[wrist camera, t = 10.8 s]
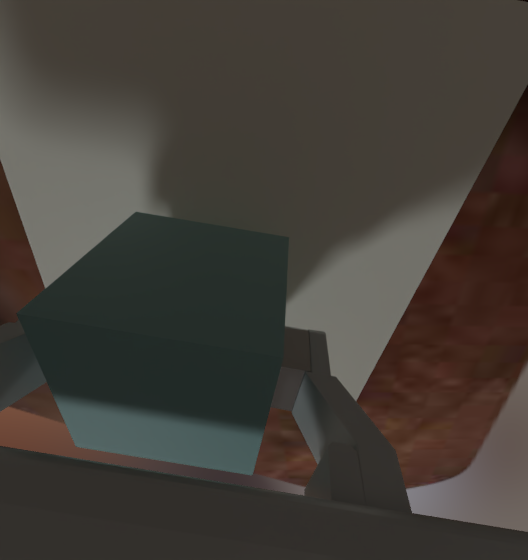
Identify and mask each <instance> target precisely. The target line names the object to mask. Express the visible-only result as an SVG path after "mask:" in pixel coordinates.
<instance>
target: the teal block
mask: <svg viewBox="0 0 528 560" xmlns="http://www.w3.org/2000/svg"><path fill="white" fill-rule="evenodd" d="M288 248H289V237H285V236H279V235H273V234H267V233H261V232H255V231H249V230H243V229H237V228H231V227H225V226H219V225H213V224H207V223H201V222H195V221H189V220H183V219H177V218H171V217H165V216H159V215H153V214H147V213H141V212H135V213H133V214H132V215H131V216H130V217H129V218H128V219H126V220H125V221H124V222H123V223H122V224H121V225H119V226H118V227H117V228H116V229H115V230H114V231H112V232H111V233H110V234H109V235H108V236H107V237H105V238H104V239H103V240H102V241H101V242H100V243H98V244H97V245H96V246H95V247H94V248H92V249H91V250H90V251H89V252H88V253H87V254H85V255H84V256H83V257H82V258H81V259H80V260H78V261H77V262H76V263H75V264H74V265H73V266H71V267H70V268H69V269H68V270H67V271H66V272H64V273H63V274H62V275H61V276H60V277H59V278H57V279H56V280H55V281H54V282H53V283H51V284H50V285H49V286H48V287H47V288H46V289H44V290H43V291H42V292H41V293H40V294H39V295H37V296H36V297H35V298H34V299H33V300H32V301H30V302H29V303H28V304H27V305H26V306H25V307H23V308H22V309H21V310H20V311H19V312H18V313H16V314H17V316H18V319H19V321H20V323H21V325H22V328H23V330H24V332H25V334H26V336H27V339H28V341H29V343H30V345H31V348H32V350H33V352H34V354H35V356H36V359H37V361H38V363H39V365H40V368H41V370H42V372H43V374H44V377H45V379H46V381H47V383H48V385H49V388H50V390H51V392H52V394H53V397H54V399H55V401H56V403H57V405H58V408H59V410H60V412H61V414H62V417H63V419H64V421H65V423H66V425H67V428H68V430H69V432H70V434H71V437H72V439H73V441H74V443H75V445H76V447H81V448H87V449H93V450H100V451H105V452H112V453H118V454H124V455H130V456H136V457H142V458H149V459H155V460H161V461H167V462H173V463H179V464H185V465H192V466H198V467H204V468H210V469H216V470H222V471H228V472H235V473H241V474H247V475H253V471H254V467H255V463H256V460H257V456H258V452H259V448H260V444H261V441H262V437H263V433H264V429H265V426H266V422H267V418H268V414H269V410H270V407H271V403H272V399H273V395H274V392H275V388H276V384H277V380H278V376H279V373H280V369H281V365H282V361H283V357H284V335H285V314H286V292H287V270H288Z"/></svg>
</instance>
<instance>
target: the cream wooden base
mask: <svg viewBox="0 0 528 560" xmlns="http://www.w3.org/2000/svg"><path fill="white" fill-rule="evenodd" d="M527 85H528V2H525V1H519V0H0V160H1V163H2V165H3V168H4V171H5V174H6V177H7V180H8V183H9V186H10V188H11V191H12V194H13V197H14V200H15V203H16V206H17V208H18V211H19V214H20V217H21V220H22V223H23V226H24V228H25V231H26V234H27V237H28V240H29V243H30V246H31V249H32V251H33V254H34V257H35V260H36V263H37V266H38V269H39V271H40V274H41V277H42V280H43V283H44V286H45V289H46V288H47V287H48V286H49V285H50V284H51V283H53V282H54V281H55V280H56V279H57V278H59V277H60V276H61V275H62V274H63V273H64V272H66V271H67V270H68V269H69V268H70V267H71V266H73V265H74V264H75V263H76V262H77V261H78V260H80V259H81V258H82V257H83V256H84V255H85V254H87V253H88V252H89V251H90V250H91V249H92V248H94V247H95V246H96V245H97V244H98V243H100V242H101V241H102V240H103V239H104V238H105V237H107V236H108V235H109V234H110V233H111V232H112V231H114V230H115V229H116V228H117V227H118V226H119V225H121V224H122V223H123V222H124V221H125V220H126V219H128V218H129V217H130V216H131V215H132V214H133V213H135V212H141V213H147V214H153V215H159V216H165V217H171V218H177V219H183V220H189V221H195V222H201V223H207V224H213V225H219V226H225V227H231V228H237V229H243V230H249V231H255V232H261V233H267V234H273V235H279V236H285V237H289V248H288V270H287V292H286V314H285V326H290V327H296V328H302V329H307V330H308V329H310V330H317V331H323V332H325V333H326V338H327V346H328V355H329V363H330V371H331V376H335V377H337V378H338V380H339V381H340V382H341V383H342V385H343V386H344V387H345V388H346V390H347V391H348V392H349V393H350V395H351V396H352V397H353V398H354V400H355V401H356V400H357V398H358V396H359V395H360V393H361V391H362V389H363V387H364V385H365V384H366V382H367V380H368V378H369V376H370V374H371V372H372V371H373V369H374V367H375V365H376V363H377V361H378V360H379V358H380V356H381V354H382V352H383V350H384V348H385V347H386V345H387V343H388V341H389V339H390V337H391V336H392V334H393V332H394V330H395V328H396V326H397V324H398V323H399V321H400V319H401V317H402V315H403V313H404V312H405V310H406V308H407V306H408V304H409V302H410V300H411V299H412V297H413V295H414V293H415V291H416V289H417V288H418V286H419V284H420V282H421V280H422V278H423V276H424V275H425V273H426V271H427V269H428V267H429V265H430V264H431V262H432V260H433V258H434V256H435V254H436V252H437V251H438V249H439V247H440V245H441V243H442V241H443V240H444V238H445V236H446V234H447V232H448V230H449V228H450V227H451V225H452V223H453V221H454V219H455V217H456V216H457V214H458V212H459V210H460V208H461V206H462V205H463V203H464V201H465V199H466V197H467V195H468V193H469V192H470V190H471V188H472V186H473V184H474V182H475V181H476V179H477V177H478V175H479V173H480V171H481V169H482V168H483V166H484V164H485V162H486V160H487V158H488V157H489V155H490V153H491V151H492V149H493V147H494V145H495V144H496V142H497V140H498V138H499V136H500V134H501V133H502V131H503V129H504V127H505V125H506V123H507V121H508V120H509V118H510V116H511V114H512V112H513V110H514V109H515V107H516V105H517V103H518V101H519V99H520V97H521V96H522V94H523V92H524V90H525V88H526V86H527Z"/></svg>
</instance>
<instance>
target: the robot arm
mask: <svg viewBox="0 0 528 560" xmlns="http://www.w3.org/2000/svg"><path fill="white" fill-rule="evenodd" d="M45 382H47V381H46V379H45V377H44V374H43V372H42V370H41V368H40V365H39V363H38V361H37V359H36V356H35V354H34V352H33V350H32V348H31V345H30V343H29V341H28V339H27V336H26V334H25V332H24V330H23V328H22V325H21V323H20V321H19V320H18V321H17V322H16V323H6V324H4V325H1V326H0V411H2V410H3V409H5V408H7V407H8V406H10V405H11V404H13V403H14V402H16V401H17V400H19V399H20V398H22V397H24V396H25V395H27V394H28V393H30V392H31V391H33V390H34V389H36V388H38V387H39V386H41V385H42V384H44V383H45ZM271 407H273V408H278V409H284V410H289V411H292V414H293V416H294V418H295V420H296V422H297V424H298V426H299V428H300V430H301V432H302V434H303V436H304V438H305V440H306V442H307V444H308V446H309V448H310V450H311V452H312V454H313V456H314V458H315V460H316V462H317V464H318V466H317V468H316V469H315V471H314V473H313V475H312V477H311V479H310V481H309V482H308V484H307V486H306V488H305V496H303V495H297V494H291V493H285V492H278V491H272V490H266V489H260V488H254V487H248V486H242V485H236V484H229V483H224V482H218V481H211V480H205V479H199V478H193V477H186V476H181V475H175V474H168V473H163V472H156V471H150V470H144V469H138V468H132V467H125V466H120V465H113V464H107V463H101V462H95V461H89V460H83V459H77V458H71V457H65V456H59V455H52V454H46V453H39V452H34V451H28V450H22V449H15V448H10V447H3V446H0V560H528V532H524V531H517V530H512V529H505V528H500V527H493V526H487V525H481V524H475V523H468V522H463V521H457V520H450V519H444V518H438V517H432V516H426V515H420V514H414V513H412V511H411V507H410V504H409V500H408V496H407V492H406V488H405V485H404V481H403V477H402V473H401V469H400V466H399V462H398V458H397V454H396V451H395V449H394V448H393V447H392V446H391V444H390V443H389V442H388V441H387V439H386V438H385V437H384V436H383V434H382V433H381V432H380V431H379V429H378V428H377V427H376V426H375V424H374V423H373V422H372V421H371V419H370V418H369V417H368V416H367V414H366V413H365V412H364V411H363V409H362V408H361V407H360V406H359V405H358V403H357V402H356V401H355V400H354V398H353V397H352V396H351V395H350V393H349V392H348V391H347V390H346V388H345V387H344V386H343V385H342V383H341V382H340V381H339V380H338V378H337V377H335V376H331V371H330V363H329V355H328V346H327V338H326V333H325V332H323V331H317V330H310V329H308V330H307V329H302V328H296V327H290V326H285V335H284V357H283V361H282V365H281V369H280V373H279V376H278V380H277V384H276V388H275V392H274V395H273V399H272V403H271Z"/></svg>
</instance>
